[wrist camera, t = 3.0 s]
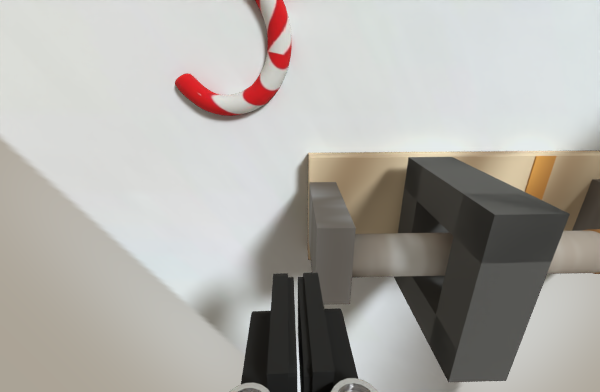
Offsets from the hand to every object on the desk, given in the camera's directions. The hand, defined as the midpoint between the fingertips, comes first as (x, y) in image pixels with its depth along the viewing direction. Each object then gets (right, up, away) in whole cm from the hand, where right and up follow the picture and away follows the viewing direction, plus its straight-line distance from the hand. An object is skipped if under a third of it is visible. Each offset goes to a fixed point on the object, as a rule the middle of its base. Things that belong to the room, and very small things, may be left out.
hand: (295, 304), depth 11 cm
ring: (+7, +3, +6) cm, 10 cm away
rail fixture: (+10, +4, +9) cm, 14 cm away
